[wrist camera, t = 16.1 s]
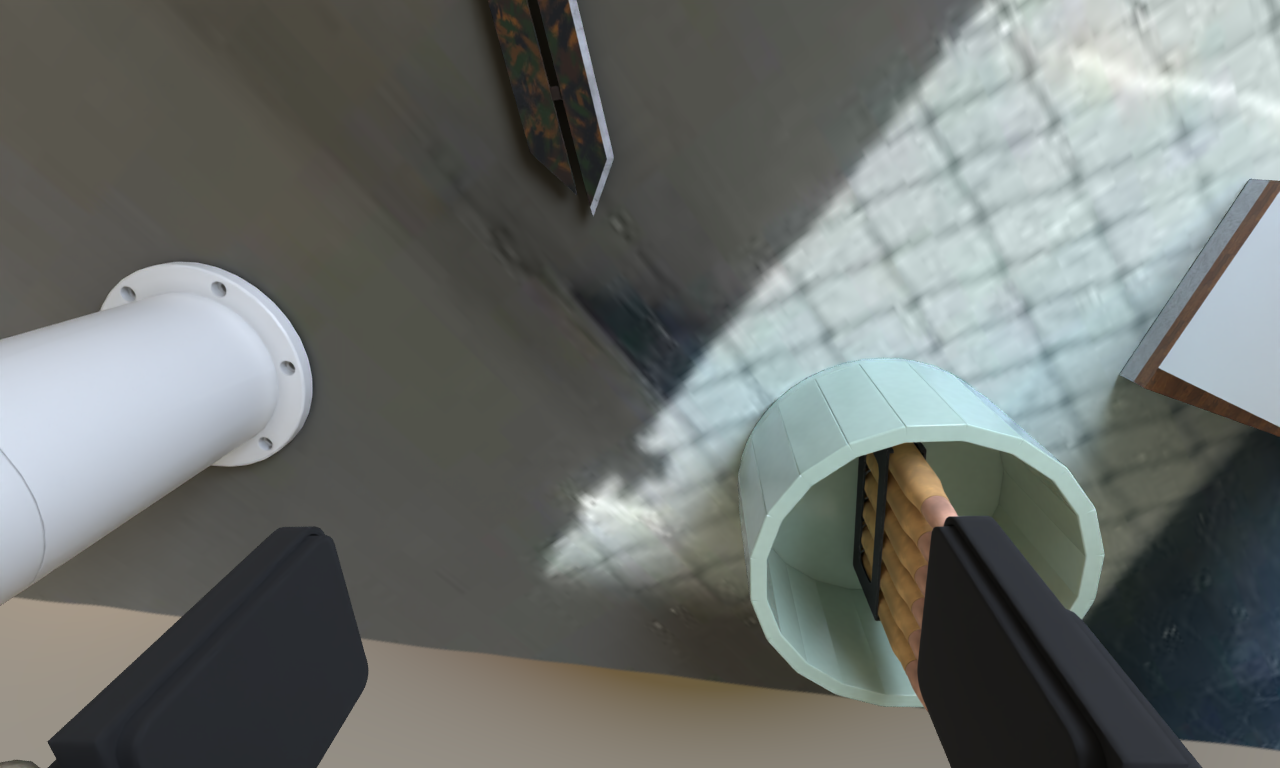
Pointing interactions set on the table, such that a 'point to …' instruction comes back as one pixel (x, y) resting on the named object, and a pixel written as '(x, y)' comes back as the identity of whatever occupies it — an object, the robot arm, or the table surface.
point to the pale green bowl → (826, 508)
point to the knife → (556, 89)
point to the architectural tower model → (1224, 320)
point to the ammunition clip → (897, 542)
